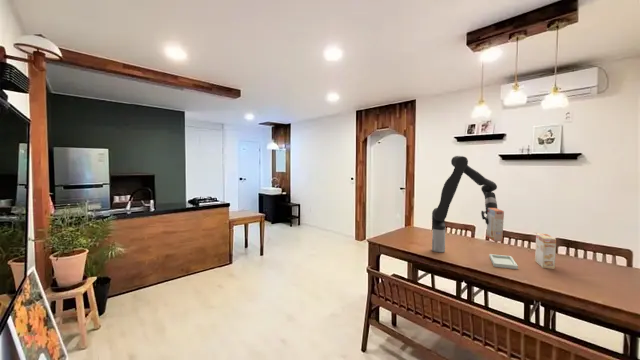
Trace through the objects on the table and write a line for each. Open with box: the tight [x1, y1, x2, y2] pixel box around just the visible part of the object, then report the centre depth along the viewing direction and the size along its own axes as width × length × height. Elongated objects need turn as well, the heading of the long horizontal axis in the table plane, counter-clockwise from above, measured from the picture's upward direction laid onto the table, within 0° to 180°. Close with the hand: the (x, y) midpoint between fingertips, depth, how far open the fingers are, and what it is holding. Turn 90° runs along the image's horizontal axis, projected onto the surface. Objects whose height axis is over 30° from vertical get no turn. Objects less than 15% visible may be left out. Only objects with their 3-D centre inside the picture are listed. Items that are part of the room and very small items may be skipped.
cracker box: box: [485, 207, 505, 242], centre depth 206 cm, size 14×6×21 cm, turn 168°
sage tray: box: [488, 253, 519, 270], centre depth 203 cm, size 13×21×2 cm, turn 157°
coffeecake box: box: [534, 233, 557, 270], centre depth 199 cm, size 15×7×20 cm, turn 160°
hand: (493, 224), depth 208 cm, fingers closed on cracker box, 6 cm apart
